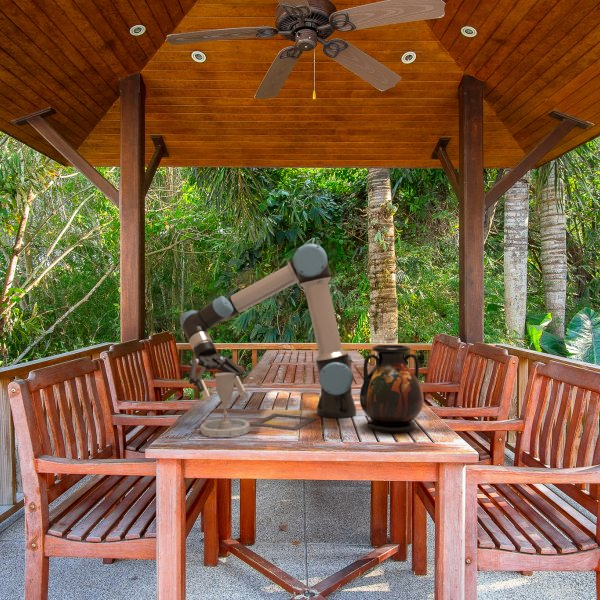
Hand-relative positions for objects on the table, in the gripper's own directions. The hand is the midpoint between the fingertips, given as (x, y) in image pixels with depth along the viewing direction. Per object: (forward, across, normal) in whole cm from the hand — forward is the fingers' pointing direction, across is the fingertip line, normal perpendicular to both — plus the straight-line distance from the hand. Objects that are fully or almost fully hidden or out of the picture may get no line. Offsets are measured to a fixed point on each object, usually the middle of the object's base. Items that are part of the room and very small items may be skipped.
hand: (225, 395), depth 171 cm
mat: (+10, -23, -7) cm, 26 cm away
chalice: (+7, 0, -8) cm, 11 cm away
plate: (+8, 0, -9) cm, 12 cm away
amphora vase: (+31, -46, +14) cm, 57 cm away
